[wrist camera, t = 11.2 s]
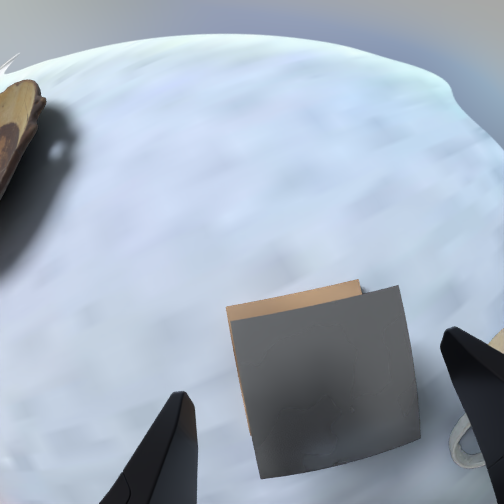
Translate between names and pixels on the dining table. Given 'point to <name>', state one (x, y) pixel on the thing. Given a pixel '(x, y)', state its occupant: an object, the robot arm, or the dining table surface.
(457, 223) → the dining table surface
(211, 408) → the dining table surface
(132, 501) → the robot arm
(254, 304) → the post base
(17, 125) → the oil lamp
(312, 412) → the grey cardboard box
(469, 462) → the ceramic mug
